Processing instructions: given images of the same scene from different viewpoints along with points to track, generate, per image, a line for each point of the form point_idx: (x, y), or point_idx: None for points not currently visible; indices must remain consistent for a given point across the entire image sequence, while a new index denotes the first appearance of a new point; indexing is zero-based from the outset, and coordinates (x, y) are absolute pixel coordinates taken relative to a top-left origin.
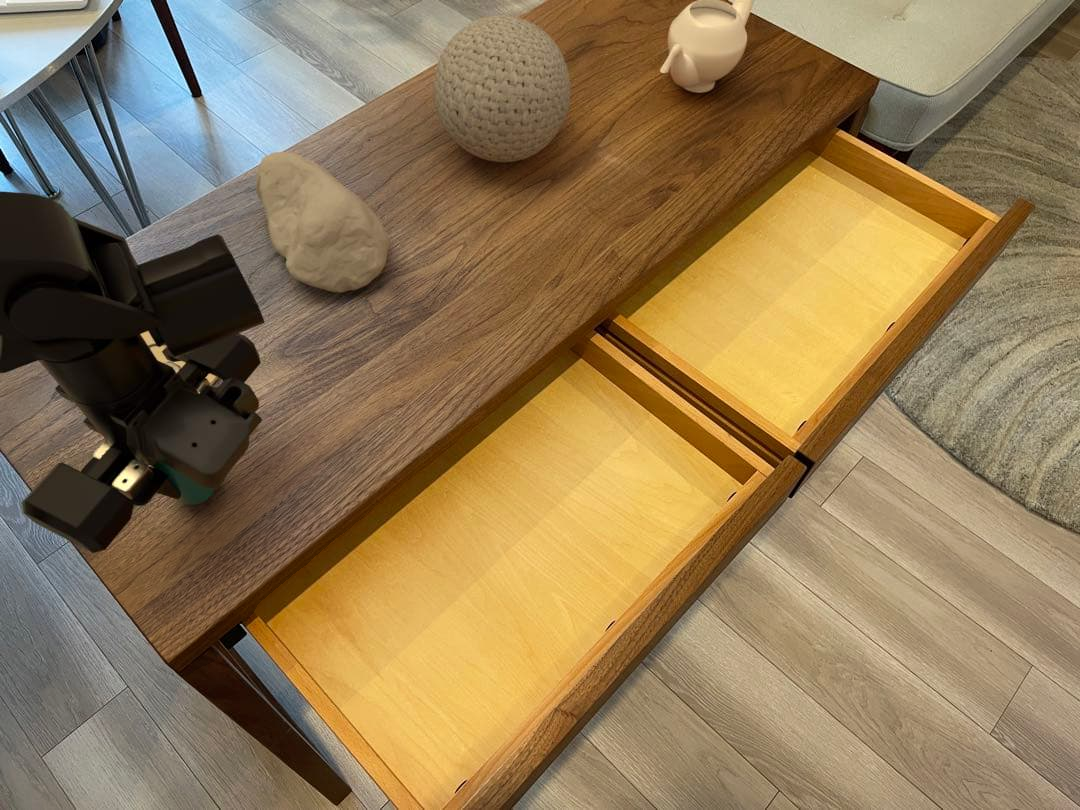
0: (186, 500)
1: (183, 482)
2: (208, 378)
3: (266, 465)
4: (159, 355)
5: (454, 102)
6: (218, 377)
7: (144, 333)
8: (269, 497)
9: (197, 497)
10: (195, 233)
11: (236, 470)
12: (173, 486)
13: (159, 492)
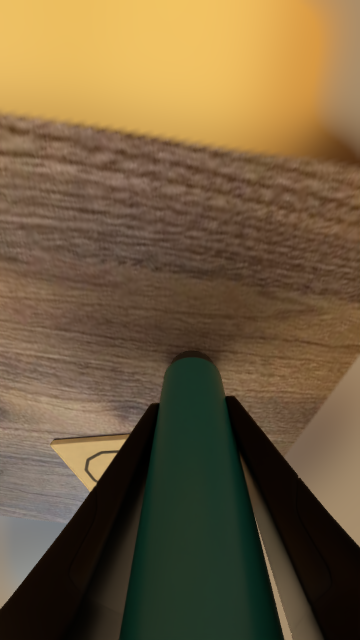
0: (220, 380)
1: (220, 435)
2: (87, 445)
3: (100, 330)
4: None
5: None
6: (80, 438)
7: None
8: (130, 287)
9: (207, 372)
10: (26, 510)
11: (137, 355)
12: (247, 452)
13: (324, 513)
